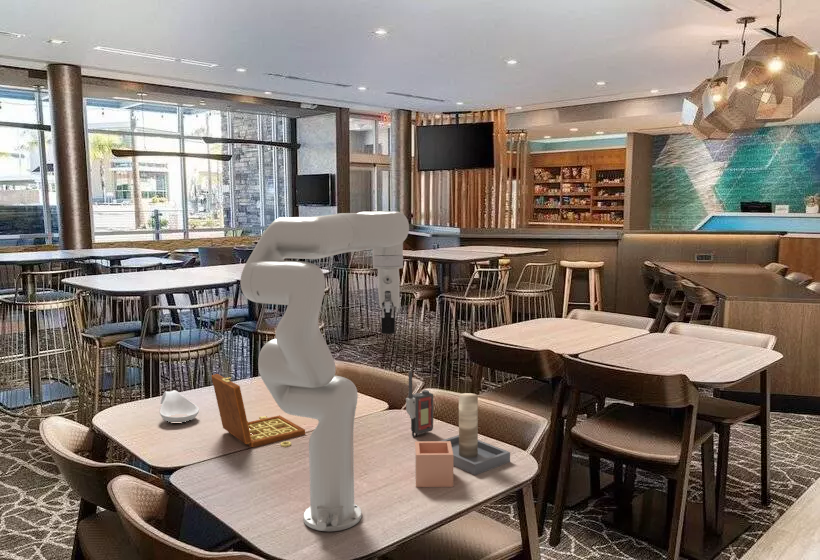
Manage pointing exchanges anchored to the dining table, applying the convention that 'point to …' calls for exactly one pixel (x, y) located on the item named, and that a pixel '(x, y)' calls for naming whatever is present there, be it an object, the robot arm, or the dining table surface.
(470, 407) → the birch dowel
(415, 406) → the walkie-talkie
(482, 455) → the charcoal tray
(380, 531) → the dining table surface
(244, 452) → the dining table surface
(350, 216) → the robot arm
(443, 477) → the terracotta box
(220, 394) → the game set
